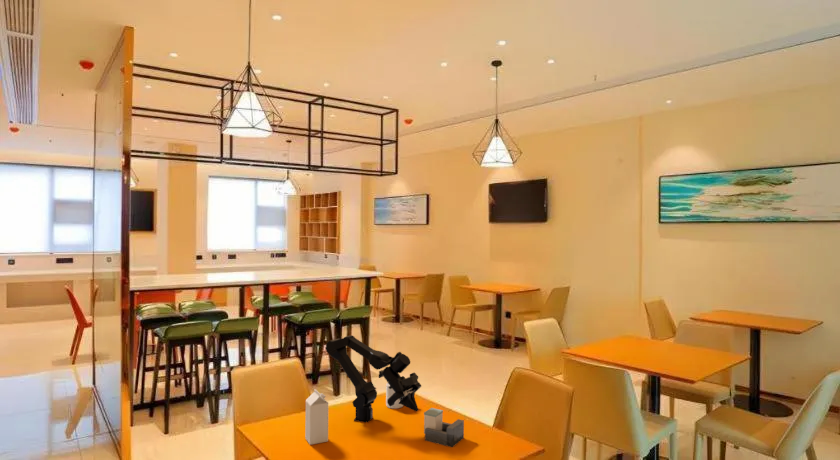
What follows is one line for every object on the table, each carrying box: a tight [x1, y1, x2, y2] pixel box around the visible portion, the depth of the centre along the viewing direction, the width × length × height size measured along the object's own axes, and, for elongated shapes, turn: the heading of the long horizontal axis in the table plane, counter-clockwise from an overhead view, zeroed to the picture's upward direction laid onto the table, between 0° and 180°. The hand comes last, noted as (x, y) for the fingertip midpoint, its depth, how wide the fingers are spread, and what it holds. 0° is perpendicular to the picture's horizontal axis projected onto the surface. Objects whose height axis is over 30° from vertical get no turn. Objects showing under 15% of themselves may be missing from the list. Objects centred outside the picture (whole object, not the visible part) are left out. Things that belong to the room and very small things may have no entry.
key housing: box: [424, 418, 465, 448], centre depth 196 cm, size 12×10×7 cm
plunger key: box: [423, 407, 444, 435], centre depth 199 cm, size 5×6×8 cm
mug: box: [385, 382, 404, 410], centre depth 233 cm, size 12×8×10 cm
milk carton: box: [304, 388, 329, 446], centre depth 194 cm, size 7×7×19 cm
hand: (417, 410), depth 203 cm, fingers closed
